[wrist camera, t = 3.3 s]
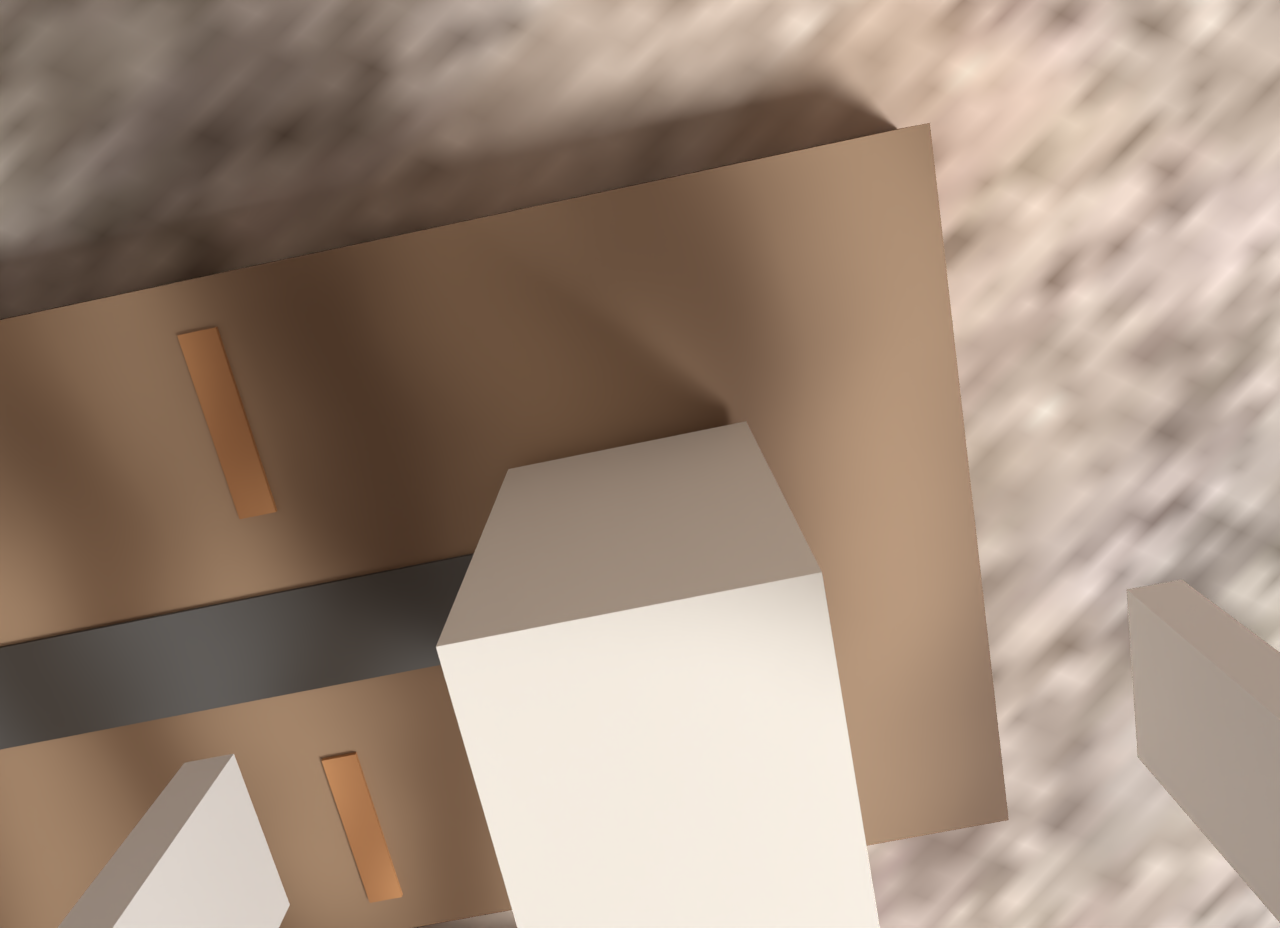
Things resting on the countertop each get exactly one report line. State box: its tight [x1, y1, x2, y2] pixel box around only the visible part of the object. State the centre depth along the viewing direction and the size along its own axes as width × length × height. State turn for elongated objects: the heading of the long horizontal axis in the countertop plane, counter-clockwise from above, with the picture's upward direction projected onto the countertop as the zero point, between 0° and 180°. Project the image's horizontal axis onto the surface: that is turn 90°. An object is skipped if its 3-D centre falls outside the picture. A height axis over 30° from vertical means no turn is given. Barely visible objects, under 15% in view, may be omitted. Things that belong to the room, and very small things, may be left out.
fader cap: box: [436, 421, 880, 928], centre depth 17 cm, size 5×6×8 cm
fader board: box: [0, 123, 1009, 928], centre depth 22 cm, size 26×16×2 cm, turn 102°
